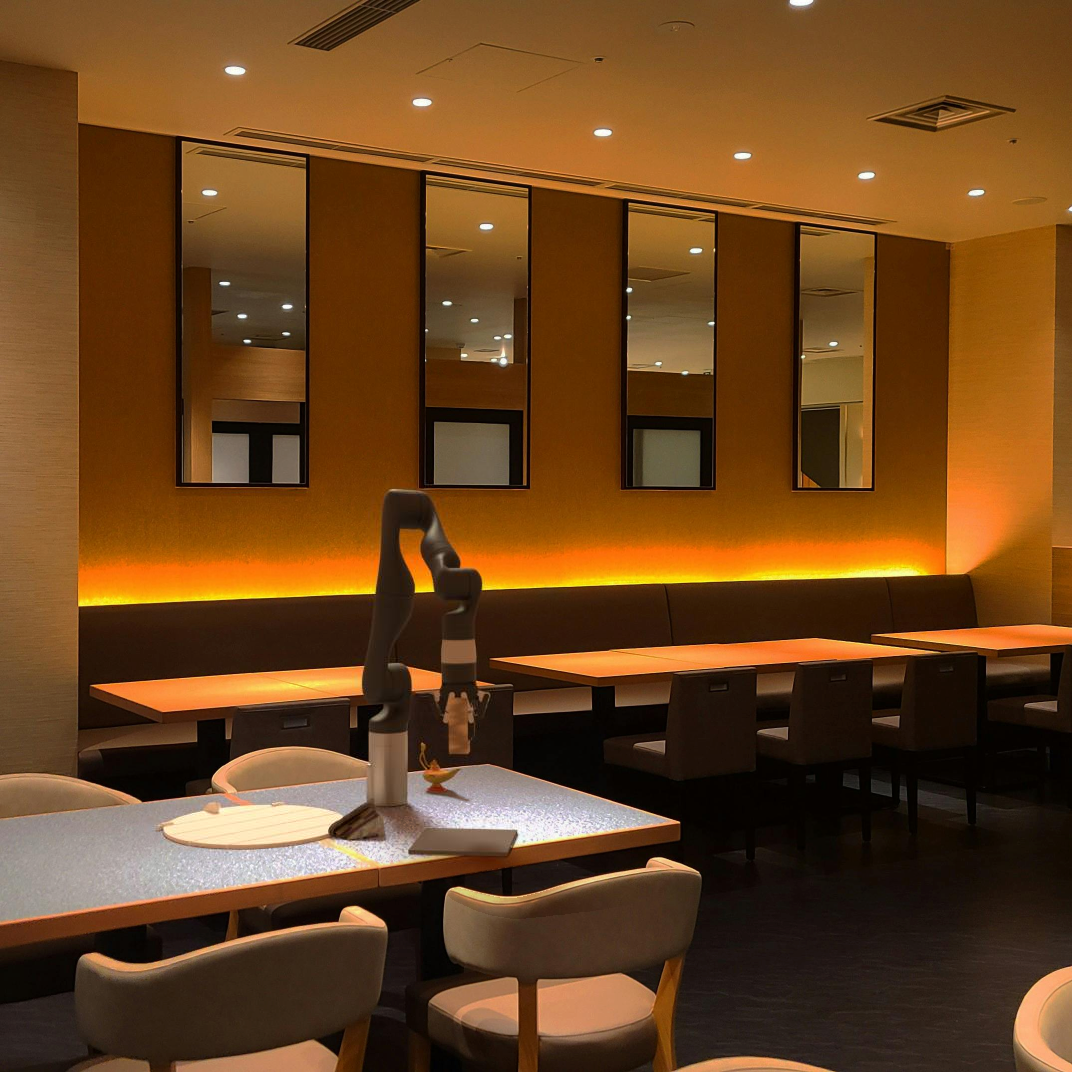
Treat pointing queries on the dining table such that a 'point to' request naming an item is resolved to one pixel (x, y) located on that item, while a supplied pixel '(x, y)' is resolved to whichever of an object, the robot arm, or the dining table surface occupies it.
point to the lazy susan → (250, 826)
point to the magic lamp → (436, 774)
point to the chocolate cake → (359, 823)
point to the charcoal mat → (464, 842)
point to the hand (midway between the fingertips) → (459, 739)
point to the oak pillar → (458, 726)
